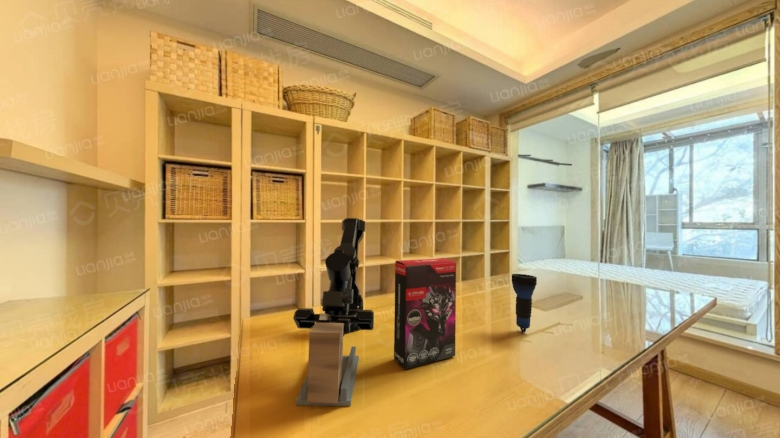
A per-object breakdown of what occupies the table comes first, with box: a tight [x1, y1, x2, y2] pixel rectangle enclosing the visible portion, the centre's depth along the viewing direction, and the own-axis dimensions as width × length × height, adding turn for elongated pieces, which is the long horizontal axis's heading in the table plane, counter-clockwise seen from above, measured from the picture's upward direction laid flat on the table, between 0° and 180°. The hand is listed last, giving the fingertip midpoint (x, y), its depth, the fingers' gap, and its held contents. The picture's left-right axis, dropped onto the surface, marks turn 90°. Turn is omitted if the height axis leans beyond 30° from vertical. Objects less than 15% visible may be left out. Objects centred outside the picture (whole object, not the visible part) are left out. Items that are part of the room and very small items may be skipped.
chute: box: [295, 345, 360, 407], centre depth 63 cm, size 18×11×4 cm, turn 1°
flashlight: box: [511, 273, 538, 334], centre depth 94 cm, size 8×8×20 cm
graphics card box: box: [393, 257, 457, 370], centre depth 74 cm, size 17×7×27 cm, turn 117°
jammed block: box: [307, 322, 344, 403], centre depth 55 cm, size 5×6×14 cm
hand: (329, 356), depth 59 cm, fingers closed
